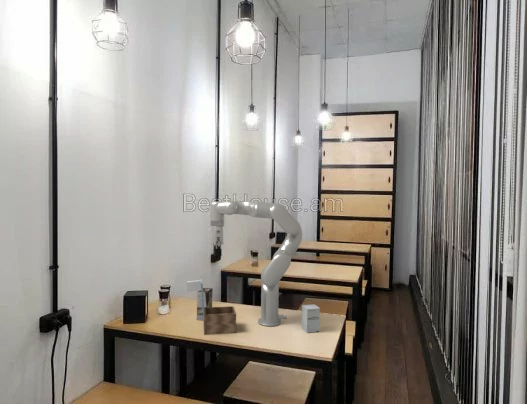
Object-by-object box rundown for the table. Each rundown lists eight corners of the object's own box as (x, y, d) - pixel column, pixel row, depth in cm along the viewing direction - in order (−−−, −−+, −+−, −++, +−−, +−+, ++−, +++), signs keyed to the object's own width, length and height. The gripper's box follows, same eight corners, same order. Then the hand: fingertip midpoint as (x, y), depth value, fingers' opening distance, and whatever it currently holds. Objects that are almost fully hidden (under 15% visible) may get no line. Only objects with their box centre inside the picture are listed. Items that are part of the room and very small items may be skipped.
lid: (201, 277, 195) (187, 278, 193) (202, 283, 183) (186, 284, 181) (203, 307, 195) (188, 308, 194) (204, 314, 183) (188, 316, 182)
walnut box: (233, 324, 199) (233, 306, 198) (235, 332, 187) (236, 313, 187) (203, 326, 196) (203, 307, 195) (204, 334, 184) (204, 315, 184)
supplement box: (306, 333, 188) (306, 308, 187) (301, 328, 195) (301, 304, 195) (319, 332, 190) (320, 307, 189) (314, 327, 197) (314, 303, 196)
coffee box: (207, 321, 203) (207, 292, 203) (196, 320, 205) (196, 291, 204) (212, 315, 212) (213, 288, 212) (202, 314, 214) (202, 287, 213)
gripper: (226, 225, 194) (226, 257, 195) (222, 222, 211) (222, 252, 212) (211, 225, 193) (212, 257, 193) (209, 222, 210) (209, 252, 210)
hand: (217, 254), depth 202 cm, fingers open, 9 cm apart
